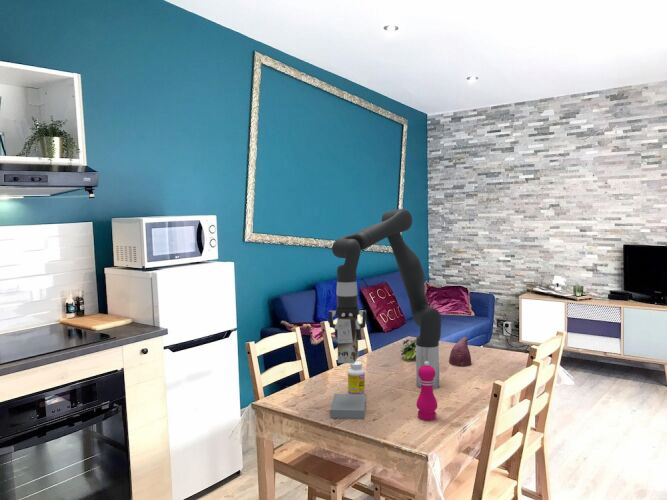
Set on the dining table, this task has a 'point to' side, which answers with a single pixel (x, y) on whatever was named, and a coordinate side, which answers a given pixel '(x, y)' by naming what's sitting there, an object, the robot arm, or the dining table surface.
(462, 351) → the vegetable
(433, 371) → the pepper mill
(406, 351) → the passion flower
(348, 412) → the block
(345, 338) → the coffee box
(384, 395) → the dining table surface
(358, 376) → the supplement bottle
